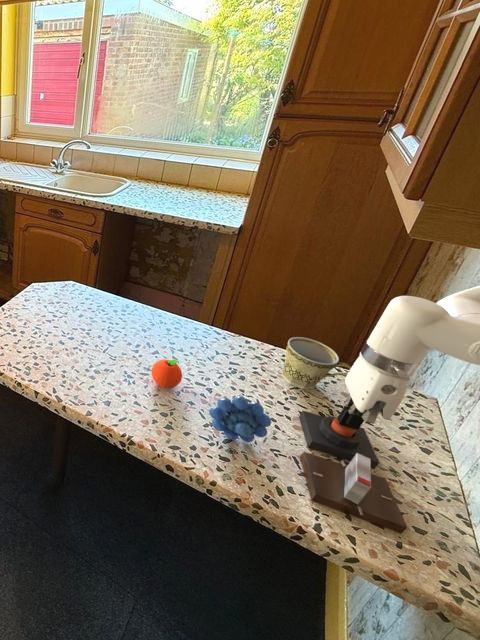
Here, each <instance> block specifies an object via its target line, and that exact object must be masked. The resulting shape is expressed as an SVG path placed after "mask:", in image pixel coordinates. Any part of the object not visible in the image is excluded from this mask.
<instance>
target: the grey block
mask: <svg viewBox="0 0 480 640" xmlns="http://www.w3.org/2000/svg"><path fill="white" fill-rule="evenodd" d="M346 466H347V467H346V469H345V488H344V498H346V499H348V500H350V501H352V502H354V503H356V504H359V502H360V501H361V500H362V499H363V497H364V496H365V495H366V494H367V492H368V491H369V490H370V489H371V474H372V473H371V472H372V471H371V470H372V468H371V459H369V458H367V457H365V456H363V455H361V454H358V453H356V455H355V456H354V458H353V459H352V460H351V462H350V461H349V463H348V464H347V465H346Z"/></svg>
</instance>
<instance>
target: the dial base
mask: <svg viewBox="0 0 480 640" xmlns="http://www.w3.org/2000/svg"><path fill="white" fill-rule="evenodd" d="M299 459H300V464H301V467H302V471H303V474H304V479H305V482H306V485H307V489H308V493H309V497H310V501H311V502H314V503H317V504H319V505H322V506H325V507H328V508H330V509H333V510H335V511H338V512H340V513H344V514H346V515H349V516H352V517H355V518H357V519H360V520H363V521H366V522H368V523H371V524H374V525H376V526H379V527H381V528H384V529H388V530H390V531H393V532H395V533H399V534H403V533H404V532H405V531H406V530H408V526H407V523H406V521H405V519H404V517H403V514H402V512H401V509H400V508H399V506H398V504H397V501H396V498H395V496H394V494H393V492H392V490H391V488H390V485H389V483H388V481H387V478H385V477H382V476H379V475H377V474H373V473H371V489H370V490H369V491H368V492H367V494H366V495H365V496H364V497H363V499H362V500H361V501H360V502H359V504H356V503H354V502H352V501H350V500H348V499H346V498H344V488H345V469H346V467H347V466H348V465H346V464H345V460H344V459H341V460H340V461H341V463H340V462H337V461H334V460H331V459H328V458H324V457H322V456H319V455H316V454H313V453H310V452H306V451H303V452H302V454H301V455H300V457H299Z"/></svg>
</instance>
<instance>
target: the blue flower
mask: <svg viewBox="0 0 480 640" xmlns="http://www.w3.org/2000/svg"><path fill="white" fill-rule="evenodd" d="M216 405H217V406H212V407H210V408H209V410H208V412H209V415H210V416H211V418H212V420H211V425H212V427H213V428H214V430H217V432H223V435H224V436H225V437H226V438H227V439H228V440H232V441H233V440H235V441H236V440H237V439H239V438H240V440H242V441H243V442H245V443H252V442H253V441H254V440H255V436H256V437H258V438H265V437H267V435H268V429H267V428H269V427H270V426H271V424H272V419H271V418H270V416H269V415H268V414H266V413H264V412H265V411H264V407H263V406H262V405H261V403H258V402H256V401H252V402H251V401H250V402H249V401H248V400H247V399H246V398H245V397H243V396H241V395H236V396H234V397H233V398H232V399H231V400H230V399H228V398H227V397H221V398H219V399H218V400H217V401H216Z"/></svg>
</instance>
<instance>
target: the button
mask: <svg viewBox="0 0 480 640" xmlns="http://www.w3.org/2000/svg"><path fill="white" fill-rule="evenodd" d="M331 428H332V429H333V430H334V431H335V432H336V433H338V434H340V435H341V436H344V437H352V436H353V434H354V433H355V431H356V429H353V428H349V427H346V426H342V425H340V424H339V421H338V419H337V418H335V419H334V420H333V422H332V424H331Z"/></svg>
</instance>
